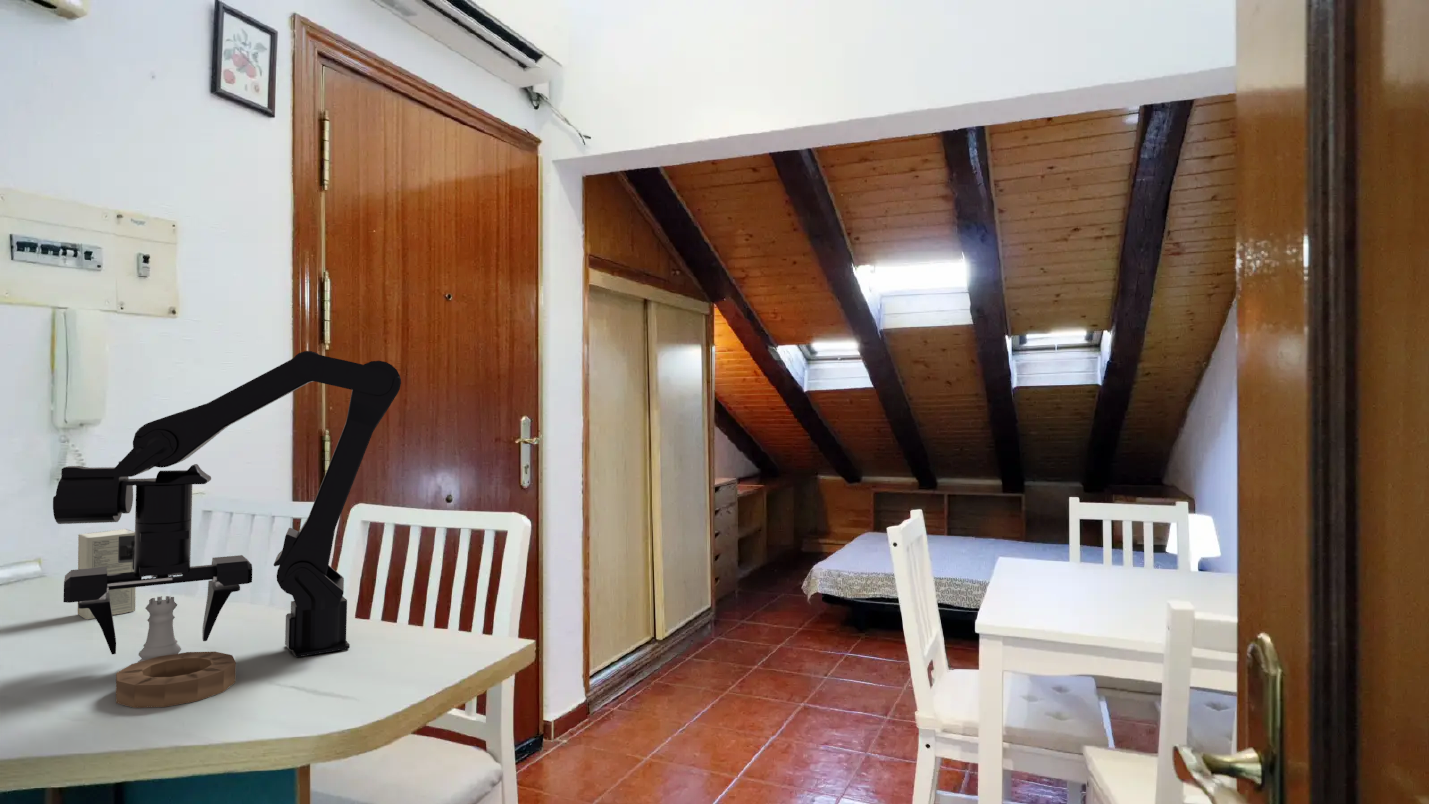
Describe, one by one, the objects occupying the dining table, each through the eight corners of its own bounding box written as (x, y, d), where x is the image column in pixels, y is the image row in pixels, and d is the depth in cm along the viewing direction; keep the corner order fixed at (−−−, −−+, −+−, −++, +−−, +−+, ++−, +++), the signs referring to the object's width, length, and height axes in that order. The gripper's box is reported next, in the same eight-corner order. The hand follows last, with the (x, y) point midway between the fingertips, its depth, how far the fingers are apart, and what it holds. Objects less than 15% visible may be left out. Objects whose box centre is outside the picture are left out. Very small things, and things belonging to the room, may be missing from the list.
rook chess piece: (158, 671, 94) (160, 604, 94) (128, 667, 95) (129, 601, 95) (190, 659, 99) (192, 595, 99) (160, 656, 100) (162, 593, 100)
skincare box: (125, 606, 121) (127, 528, 121) (136, 612, 119) (138, 531, 119) (75, 615, 116) (77, 533, 116) (84, 620, 114) (87, 536, 113)
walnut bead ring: (227, 665, 97) (227, 646, 97) (240, 693, 88) (240, 671, 88) (114, 683, 90) (115, 662, 90) (117, 715, 81) (117, 692, 81)
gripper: (241, 507, 109) (238, 620, 109) (67, 517, 97) (64, 642, 97) (254, 518, 100) (251, 640, 100) (65, 530, 89) (61, 668, 89)
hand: (160, 646), depth 97 cm, fingers open, 9 cm apart
